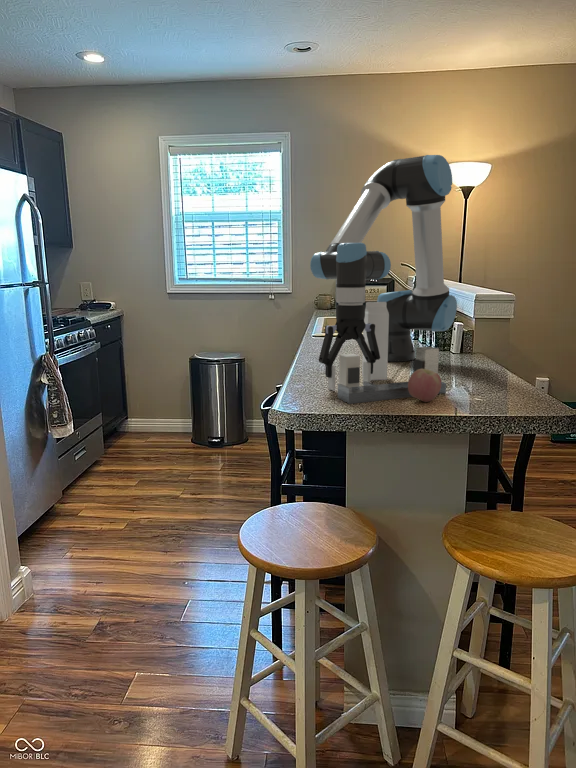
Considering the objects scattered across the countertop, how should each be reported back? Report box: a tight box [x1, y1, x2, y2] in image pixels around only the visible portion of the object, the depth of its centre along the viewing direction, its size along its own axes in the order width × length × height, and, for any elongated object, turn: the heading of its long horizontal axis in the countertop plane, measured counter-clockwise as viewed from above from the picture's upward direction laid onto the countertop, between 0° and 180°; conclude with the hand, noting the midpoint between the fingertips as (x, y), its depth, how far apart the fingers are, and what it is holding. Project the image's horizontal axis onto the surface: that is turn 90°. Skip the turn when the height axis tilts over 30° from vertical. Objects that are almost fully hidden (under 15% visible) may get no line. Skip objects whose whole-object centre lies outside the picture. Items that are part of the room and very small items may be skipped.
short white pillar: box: [338, 353, 361, 387], centre depth 151 cm, size 5×4×9 cm
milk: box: [361, 301, 389, 381], centre depth 163 cm, size 6×6×22 cm
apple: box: [407, 369, 442, 403], centre depth 136 cm, size 8×8×8 cm
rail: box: [337, 346, 447, 405], centre depth 142 cm, size 28×6×12 cm, turn 112°
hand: (349, 387), depth 152 cm, fingers open, 10 cm apart
